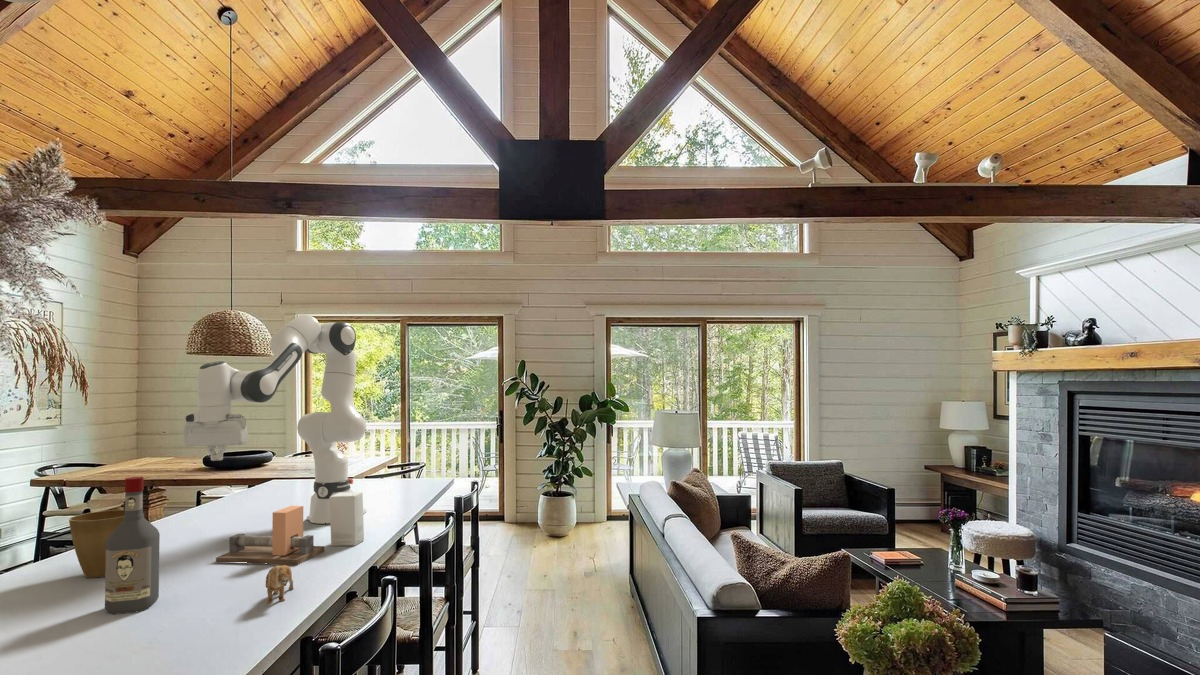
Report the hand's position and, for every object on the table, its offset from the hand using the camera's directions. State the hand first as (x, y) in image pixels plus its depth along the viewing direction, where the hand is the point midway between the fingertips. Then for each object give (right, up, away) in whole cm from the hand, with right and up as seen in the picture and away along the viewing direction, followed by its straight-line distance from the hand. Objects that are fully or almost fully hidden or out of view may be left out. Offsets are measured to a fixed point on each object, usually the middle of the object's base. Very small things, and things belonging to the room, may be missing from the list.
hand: (217, 460), depth 204 cm
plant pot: (-19, -27, -22) cm, 40 cm away
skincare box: (+37, -28, +6) cm, 47 cm away
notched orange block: (+26, -25, -8) cm, 37 cm away
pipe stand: (+20, -27, -8) cm, 35 cm away
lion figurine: (+40, -26, -42) cm, 63 cm away
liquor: (+7, -26, -47) cm, 55 cm away
